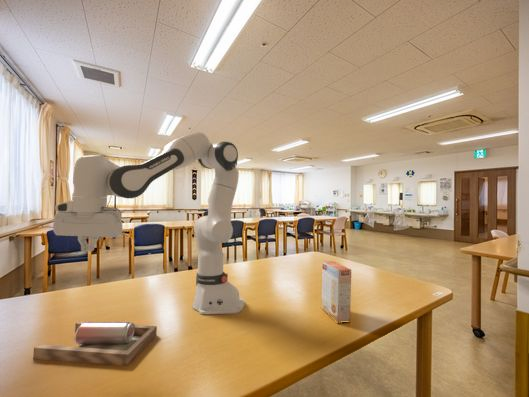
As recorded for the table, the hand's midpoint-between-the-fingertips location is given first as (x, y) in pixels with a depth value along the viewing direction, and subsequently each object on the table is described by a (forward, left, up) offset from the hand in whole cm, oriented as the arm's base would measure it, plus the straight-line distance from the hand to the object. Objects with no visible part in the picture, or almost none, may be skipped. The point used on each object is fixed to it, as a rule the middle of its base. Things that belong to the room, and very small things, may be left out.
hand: (87, 250), depth 73 cm
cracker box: (-84, -30, -29) cm, 94 cm away
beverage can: (+1, 0, -26) cm, 26 cm away
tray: (-5, 0, -29) cm, 29 cm away
